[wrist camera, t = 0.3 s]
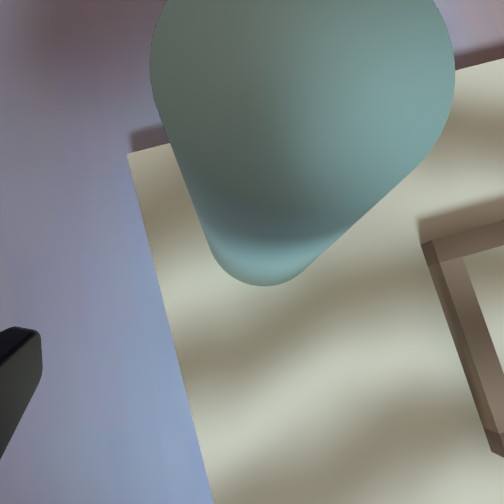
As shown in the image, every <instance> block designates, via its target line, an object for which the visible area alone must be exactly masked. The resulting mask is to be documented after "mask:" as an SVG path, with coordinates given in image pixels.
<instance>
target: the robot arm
mask: <svg viewBox="0 0 504 504" xmlns="http://www.w3.org/2000/svg"><path fill="white" fill-rule="evenodd" d="M42 367H43V366H42V349H41V337H40V334H39V333H38V332H37V331H36V330H32V329H27V328H22V327H11V328H8V329H6V330H4V331H1V332H0V459H1V457H2V455H3V453H4V451H5V449H6V447H7V445H8V443H9V441H10V439H11V437H12V435H13V433H14V431H15V429H16V427H17V425H18V423H19V421H20V419H21V417H22V415H23V413H24V411H25V409H26V407H27V405H28V403H29V402H30V400H31V398H32V396H33V394H34V392H35V390H36V388H37V386H38V384H39V381H40V379H41V375H42Z"/></svg>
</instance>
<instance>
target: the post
mask: <svg viewBox="0 0 504 504" xmlns="http://www.w3.org/2000/svg"><path fill="white" fill-rule="evenodd" d="M150 81H151V86H152V91H153V97H154V101H155V104H156V106H157V109H158V112H159V115H160V118H161V121H162V123H163V126H164V129H165V131H166V134H167V137H168V139H169V142H170V144H171V147H172V150H173V152H174V155H175V158H176V160H177V163H178V166H179V168H180V171H181V173H182V176H183V179H184V181H185V184H186V187H187V189H188V192H189V194H190V197H191V200H192V202H193V205H194V208H195V210H196V213H197V216H198V218H199V221H200V223H201V226H202V229H203V231H204V234H205V237H206V239H207V242H208V245H209V247H210V250H211V252H212V254H213V256H214V258H215V260H216V261H217V263H218V264H219V265H220V266H221V268H222V269H223V270H224V271H225V272H227V273H228V274H229V275H230V276H232V277H233V278H235V279H237V280H239V281H241V282H243V283H246V284H249V285H254V286H264V287H266V286H275V285H279V284H282V283H285V282H288V281H290V280H292V279H293V278H295V277H296V276H298V275H299V274H300V273H302V272H303V271H304V270H305V269H306V268H307V267H308V266H309V265H310V264H311V263H313V262H314V261H315V260H316V259H317V258H318V257H319V256H320V255H321V254H322V253H323V252H325V251H326V250H327V249H328V248H329V247H330V246H331V245H332V244H333V243H334V242H335V241H337V240H338V239H339V238H340V237H341V236H342V235H343V234H344V233H345V232H346V231H347V230H349V229H350V228H351V227H352V226H353V225H354V224H355V223H356V222H357V221H358V220H359V219H361V218H362V217H363V216H364V215H365V214H366V213H367V212H368V211H369V210H370V209H372V208H373V207H374V206H375V205H376V204H377V203H378V202H379V201H380V200H381V199H382V198H384V197H385V196H386V195H387V194H388V193H389V192H390V191H391V190H392V189H393V188H394V187H396V186H397V185H398V184H399V183H400V182H401V181H402V180H403V179H404V178H405V177H406V176H408V175H409V174H410V173H411V172H412V171H413V170H414V169H415V168H416V167H417V166H418V165H419V164H420V163H421V162H422V161H423V159H424V158H425V157H426V156H427V155H428V153H429V152H430V151H431V150H432V148H433V146H434V145H435V143H436V141H437V140H438V138H439V137H440V135H441V133H442V130H443V128H444V126H445V124H446V121H447V119H448V116H449V112H450V109H451V105H452V101H453V96H454V87H455V60H454V54H453V48H452V43H451V40H450V37H449V33H448V30H447V27H446V25H445V23H444V20H443V18H442V16H441V14H440V12H439V10H438V8H437V7H436V5H435V3H434V2H433V0H167V2H166V4H165V5H164V7H163V9H162V11H161V14H160V16H159V19H158V21H157V24H156V27H155V31H154V35H153V39H152V43H151V53H150Z"/></svg>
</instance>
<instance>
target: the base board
mask: <svg viewBox="0 0 504 504" xmlns="http://www.w3.org/2000/svg"><path fill="white" fill-rule="evenodd" d="M127 158H128V162H129V166H130V170H131V174H132V178H133V182H134V186H135V190H136V194H137V198H138V202H139V206H140V210H141V214H142V218H143V222H144V226H145V230H146V234H147V238H148V242H149V246H150V250H151V254H152V258H153V262H154V266H155V270H156V274H157V278H158V282H159V286H160V290H161V294H162V298H163V302H164V306H165V310H166V314H167V318H168V322H169V326H170V330H171V334H172V338H173V342H174V346H175V350H176V354H177V358H178V362H179V366H180V370H181V374H182V378H183V382H184V386H185V390H186V394H187V398H188V402H189V406H190V410H191V414H192V418H193V422H194V426H195V430H196V434H197V438H198V442H199V446H200V450H201V454H202V458H203V462H204V466H205V470H206V474H207V478H208V482H209V486H210V490H211V494H212V498H213V502H214V504H504V58H503V59H499V60H495V61H491V62H487V63H483V64H479V65H475V66H471V67H467V68H463V69H459V70H455V87H454V96H453V101H452V105H451V109H450V112H449V116H448V119H447V121H446V124H445V126H444V128H443V130H442V133H441V135H440V137H439V138H438V140H437V141H436V143H435V145H434V146H433V148H432V150H431V151H430V152H429V153H428V155H427V156H426V157H425V158H424V159H423V161H422V162H421V163H420V164H419V165H418V166H417V167H416V168H415V169H414V170H413V171H412V172H411V173H410V174H409V175H408V176H406V177H405V178H404V179H403V180H402V181H401V182H400V183H399V184H398V185H397V186H396V187H394V188H393V189H392V190H391V191H390V192H389V193H388V194H387V195H386V196H385V197H384V198H382V199H381V200H380V201H379V202H378V203H377V204H376V205H375V206H374V207H373V208H372V209H370V210H369V211H368V212H367V213H366V214H365V215H364V216H363V217H362V218H361V219H359V220H358V221H357V222H356V223H355V224H354V225H353V226H352V227H351V228H350V229H349V230H347V231H346V232H345V233H344V234H343V235H342V236H341V237H340V238H339V239H338V240H337V241H335V242H334V243H333V244H332V245H331V246H330V247H329V248H328V249H327V250H326V251H325V252H323V253H322V254H321V255H320V256H319V257H318V258H317V259H316V260H315V261H314V262H313V263H311V264H310V265H309V266H308V267H307V268H306V269H305V270H304V271H303V272H302V273H300V274H299V275H298V276H296V277H295V278H293V279H292V280H290V281H288V282H285V283H282V284H279V285H275V286H266V287H264V286H254V285H249V284H246V283H243V282H241V281H239V280H237V279H235V278H233V277H232V276H230V275H229V274H228V273H227V272H225V271H224V270H223V269H222V268H221V266H220V265H219V264H218V263H217V261H216V260H215V258H214V256H213V254H212V252H211V250H210V247H209V245H208V242H207V239H206V237H205V234H204V231H203V229H202V226H201V223H200V221H199V218H198V216H197V213H196V210H195V208H194V205H193V202H192V200H191V197H190V194H189V192H188V189H187V187H186V184H185V181H184V179H183V176H182V173H181V171H180V168H179V166H178V163H177V160H176V158H175V155H174V152H173V150H172V147H171V144H170V143H168V144H164V145H160V146H156V147H152V148H148V149H144V150H140V151H136V152H132V153H128V154H127Z"/></svg>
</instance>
